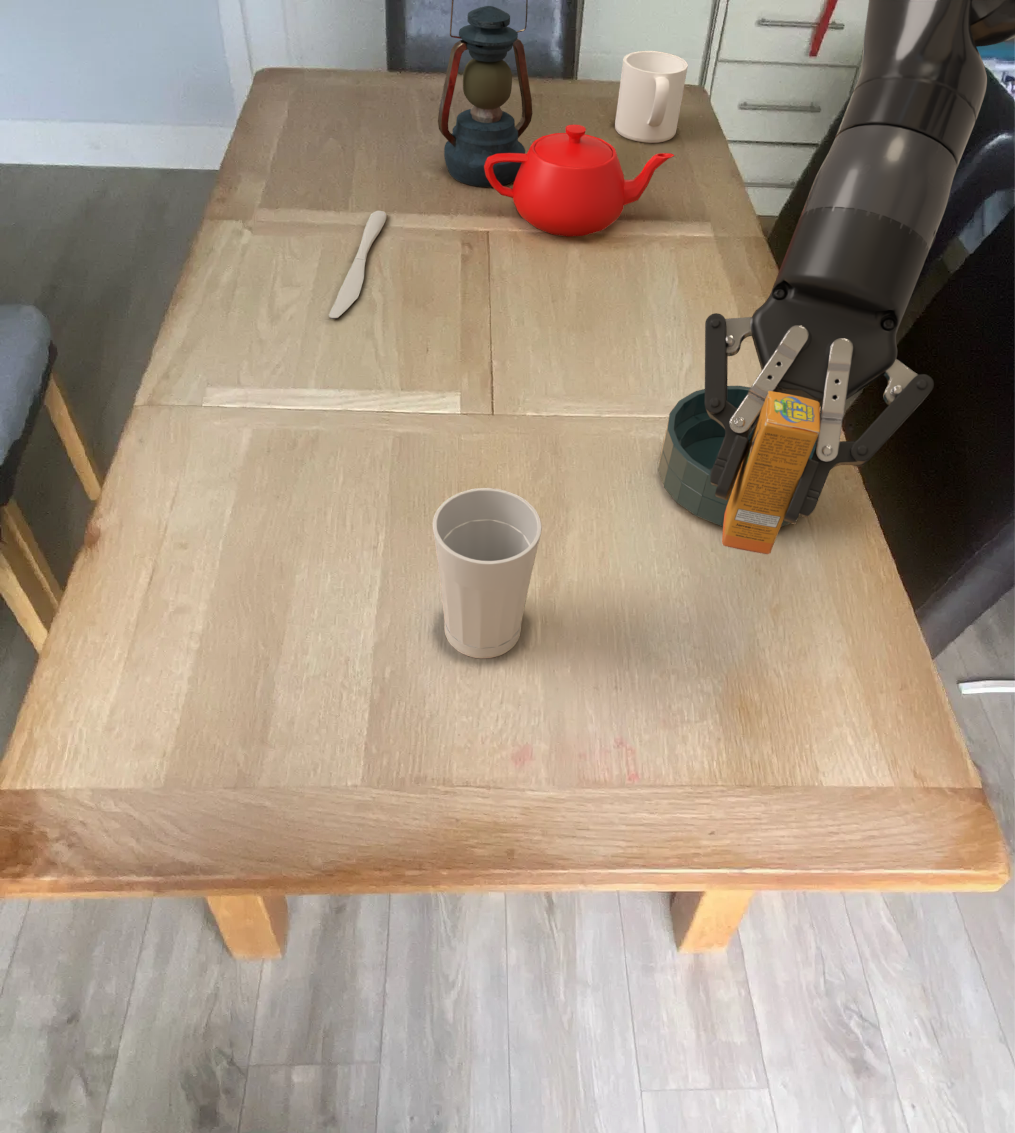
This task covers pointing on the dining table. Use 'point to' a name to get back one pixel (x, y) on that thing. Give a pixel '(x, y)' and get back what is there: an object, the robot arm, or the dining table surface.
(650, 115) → the mug
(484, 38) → the lantern
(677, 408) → the bowl
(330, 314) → the butter knife
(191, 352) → the dining table surface
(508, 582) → the cup
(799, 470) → the supplement box
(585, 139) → the teapot
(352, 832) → the dining table surface
